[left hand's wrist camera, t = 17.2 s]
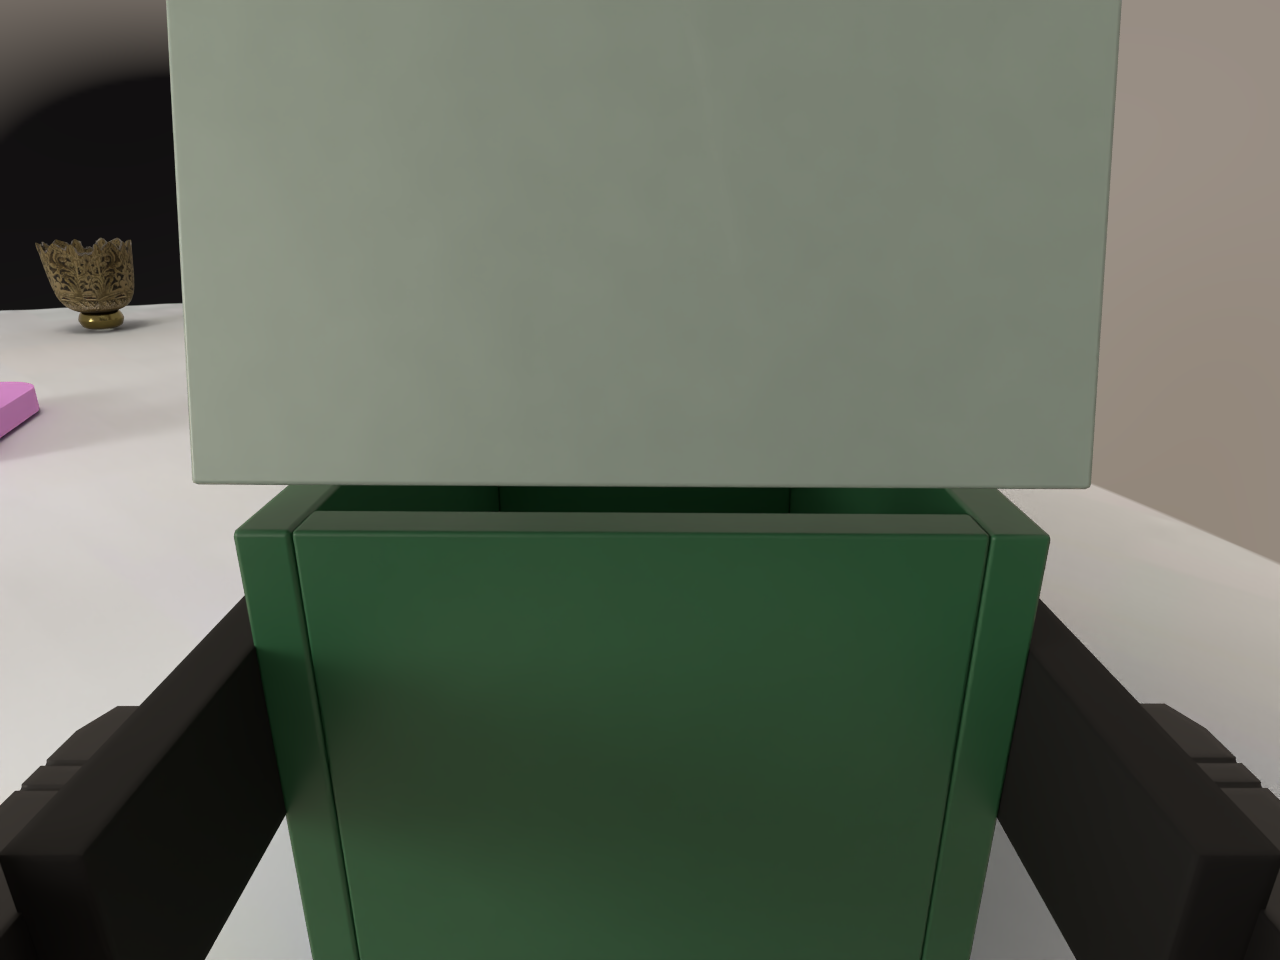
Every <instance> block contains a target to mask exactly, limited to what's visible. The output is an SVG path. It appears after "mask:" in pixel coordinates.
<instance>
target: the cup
mask: <svg viewBox="0 0 1280 960" xmlns="http://www.w3.org/2000/svg"><path fill="white" fill-rule="evenodd" d="M131 245H132V243H131V240H130V241H129V240H127V241H126V242H125V244H124V243H123V241H121V240H120V239H118V238H115V239H113V240H111V241H110V242H106V240H104V239H103V238H100V239H99V240H97V241H96V243H95V244H94V245H93V248H91V247H88V248H83V247H82V245H81V243H80V241H77V240H73V241H72V242H71V244H68V243H66V242H62V241H58V240H55V241H54V242H53V243H52V244H51V245H50V246H48V245H47V244H45V243H43V242H42V245H41V244H40V245H39V244H38V243H36V247H37V250H38V252H39V255H40V258H41V260H42V263H43V266H44V269H45V271H46V274H47V276H48V279H49V281H50V284H51V286H52V288H53V290H54V292H55V294H56V296H57V298H58V299H59V300H60V301H61V302H62V303H63V304H64V305H65V306H66V307H68V308H70V309H72V310H74V311H77V312H80V314H79V319H78V320H79V322H80V324H81V325H82V326H83V327H84V328H87V329H109V328H115V327H118V326H120V325H122V324H123V321H124V316H123V314H122V313H121V311H120V310H119V309H121V308H123V307H125V306H126V305H127V304H128V303H129V302H130V301H131V299H132V296H133V293H134V272H133V259H132V248H131Z"/></svg>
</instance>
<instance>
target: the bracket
mask: <svg viewBox="0 0 1280 960" xmlns="http://www.w3.org/2000/svg"><path fill="white" fill-rule="evenodd" d="M39 409H40V408H39V404H38V400H37V397H36V393H35V389H34V386H33V385H32V384H29V383H24V382H0V438H1V437H2V436H4V435H5V434H6V433H8V432H9V431H11V430H12V429H13V428H15V427H16V426H18V425H19V424H21V423H22V422H23V421H25V420H26V419H28V418H29V417H30V416H32V415H33V414H35V413H36V412H37V411H39Z"/></svg>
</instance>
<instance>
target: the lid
mask: <svg viewBox="0 0 1280 960" xmlns="http://www.w3.org/2000/svg"><path fill="white" fill-rule="evenodd" d="M1121 3H1122V0H166V6H167V24H168V43H169V61H170V79H171V97H172V116H173V133H174V152H175V170H176V189H177V207H178V225H179V243H180V261H181V280H182V298H183V316H184V334H185V353H186V371H187V389H188V407H189V425H190V444H191V462H192V480H193V482H194V483H196V484H220V485H408V486H596V487H784V488H971V489H1086V488H1089V487H1090V485H1091V473H1092V456H1093V441H1094V425H1095V410H1096V394H1097V378H1098V363H1099V347H1100V332H1101V316H1102V300H1103V285H1104V269H1105V253H1106V238H1107V222H1108V206H1109V191H1110V175H1111V160H1112V144H1113V128H1114V113H1115V97H1116V81H1117V65H1118V50H1119V35H1120V19H1121Z"/></svg>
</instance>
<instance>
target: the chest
mask: <svg viewBox="0 0 1280 960" xmlns="http://www.w3.org/2000/svg"><path fill="white" fill-rule="evenodd" d="M234 540H235V545H236V550H237V556H238V561H239V566H240V572H241V577H242V583H243V588H244V593H245V599H246V604H247V609H248V615H249V620H250V625H251V631H252V636H253V642H254V646H255V648H256V654H257V659H258V664H259V670H260V675H261V680H262V686H263V691H264V696H265V702H266V707H267V712H268V718H269V723H270V728H271V734H272V739H273V744H274V750H275V755H276V760H277V766H278V771H279V776H280V782H281V787H282V792H283V798H284V803H285V808H286V819H287V824H288V829H289V835H290V840H291V845H292V851H293V856H294V862H295V867H296V872H297V878H298V883H299V888H300V894H301V899H302V904H303V910H304V915H305V921H306V926H307V931H308V937H309V942H310V947H311V953H312V958H313V960H969V959H970V954H971V949H972V944H973V939H974V933H975V928H976V923H977V918H978V913H979V907H980V902H981V897H982V892H983V887H984V882H985V876H986V871H987V866H988V861H989V856H990V850H991V845H992V840H993V835H994V830H995V824H996V819H997V814H998V809H999V804H1000V798H1001V793H1002V788H1003V783H1004V778H1005V773H1006V767H1007V762H1008V757H1009V752H1010V747H1011V741H1012V736H1013V731H1014V726H1015V721H1016V715H1017V710H1018V705H1019V700H1020V695H1021V690H1022V684H1023V679H1024V674H1025V669H1026V664H1027V658H1028V653H1029V648H1030V643H1031V638H1032V632H1033V627H1034V622H1035V617H1036V612H1037V606H1038V601H1039V596H1040V591H1041V586H1042V581H1043V575H1044V570H1045V565H1046V560H1047V555H1048V549H1049V544H1050V537H1049V535H1048V534H1047V533H1046V532H1045V531H1044V530H1042V529H1041V528H1040V527H1039V526H1038V525H1037V524H1036V523H1035V522H1033V521H1032V520H1031V519H1030V518H1029V517H1028V516H1027V515H1026V514H1025V513H1023V512H1022V511H1021V510H1020V509H1019V508H1018V507H1017V506H1016V505H1014V504H1013V503H1012V502H1011V501H1010V500H1009V499H1008V498H1007V497H1005V496H1004V495H1003V494H1002V493H1001V492H1000V491H999V490H998V489H971V488H784V487H596V486H408V485H288V486H287V487H286V488H285V489H284V490H282V491H281V492H280V493H279V494H278V495H277V496H275V497H274V498H273V499H272V500H271V501H270V502H268V503H267V504H266V505H265V506H264V507H262V508H261V509H260V510H259V511H258V512H257V513H255V514H254V515H253V516H252V517H251V518H250V519H248V520H247V521H246V522H245V523H244V524H243V525H241V526H240V527H239V528H238V529H237V530H235V534H234Z"/></svg>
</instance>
